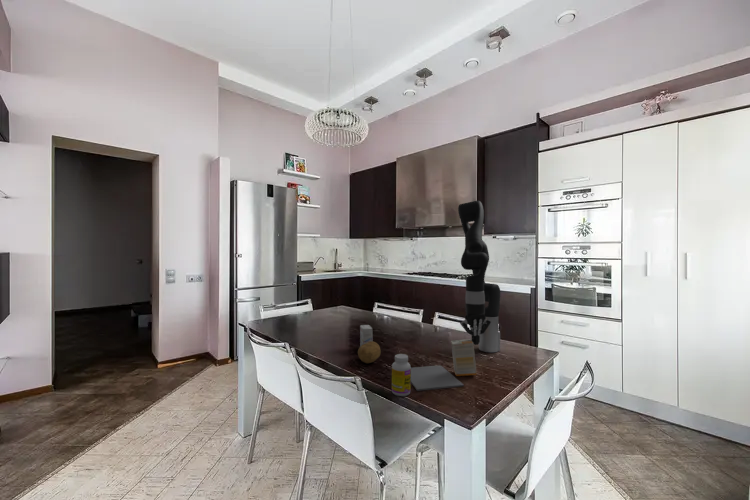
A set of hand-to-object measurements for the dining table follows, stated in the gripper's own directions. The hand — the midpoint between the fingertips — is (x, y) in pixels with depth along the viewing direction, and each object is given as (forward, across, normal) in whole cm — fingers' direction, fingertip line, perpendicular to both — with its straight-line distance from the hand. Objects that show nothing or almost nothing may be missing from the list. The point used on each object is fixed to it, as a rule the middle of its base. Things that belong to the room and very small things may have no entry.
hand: (475, 344), depth 130 cm
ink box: (+12, +38, -38) cm, 55 cm away
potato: (+11, +40, -22) cm, 47 cm away
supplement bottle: (+11, +35, +10) cm, 38 cm away
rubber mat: (+11, +20, 0) cm, 23 cm away
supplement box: (+12, +5, 0) cm, 13 cm away
